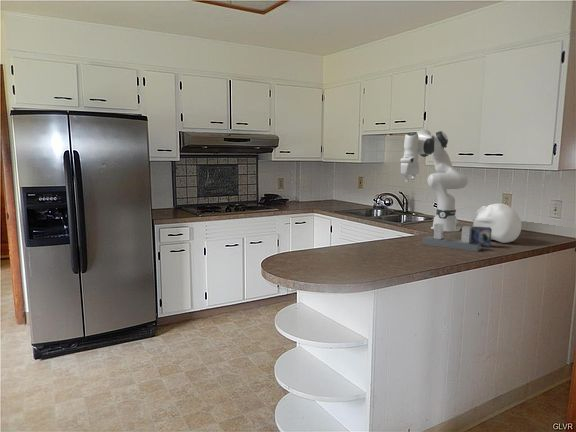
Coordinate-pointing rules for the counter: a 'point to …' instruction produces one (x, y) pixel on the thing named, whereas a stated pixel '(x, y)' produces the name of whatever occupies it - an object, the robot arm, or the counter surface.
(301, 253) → the counter surface
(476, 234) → the small box
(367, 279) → the counter surface
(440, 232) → the clip
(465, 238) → the rail
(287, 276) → the counter surface
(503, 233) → the head
